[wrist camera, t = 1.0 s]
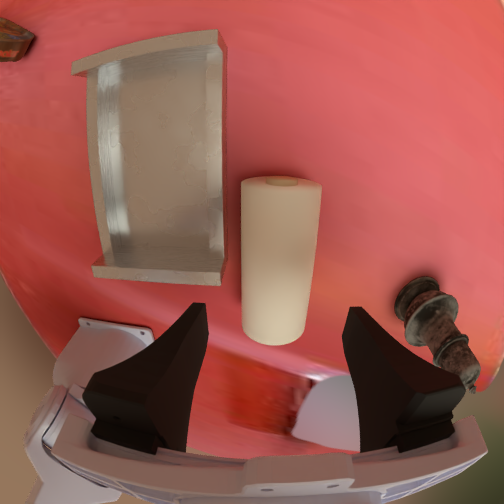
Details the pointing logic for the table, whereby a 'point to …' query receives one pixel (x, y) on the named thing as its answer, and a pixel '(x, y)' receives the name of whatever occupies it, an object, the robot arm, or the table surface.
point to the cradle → (159, 157)
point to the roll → (277, 255)
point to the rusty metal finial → (437, 328)
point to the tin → (13, 41)
